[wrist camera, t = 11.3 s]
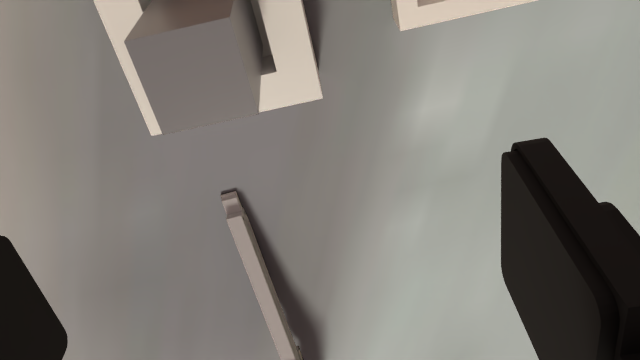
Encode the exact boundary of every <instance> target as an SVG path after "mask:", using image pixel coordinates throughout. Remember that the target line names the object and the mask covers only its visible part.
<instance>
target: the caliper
mask: <svg viewBox="0 0 640 360" xmlns="http://www.w3.org/2000/svg"><path fill="white" fill-rule="evenodd" d="M221 199H222V203H223V206H224V208H225V211H226V214H227V218H226V220H227V223H228V225H229V228H230V230H231V233H232V235H233V238H234V241H235V243H236V246H237V248H238V251H239V253H240V256H241V259H242V261H243V264H244V266H245V269H246V271H247V274H248V277H249V279H250V282H251V284H252V287H253V289H254V292H255V294H256V297H257V300H258V302H259V305H260V307H261V310H262V312H263V315H264V318H265V320H266V323H267V325H268V328H269V330H270V333H271V335H272V338H273V341H274V343H275V346H276V348H277V351H278V353H279V356H280V358H281V360H304V359H303V357H302V355H301V351H300V348H299V346H296V345H295V342H294V340H293V337H292V334H291V332H290V329H289V326H288V324H287V321H286V318H285V316H284V313H283V310H282V308H281V305H280V302H279V300H278V297H277V294H276V292H275V289H274V286H273V283H272V281H271V278H270V275H269V273H268V270H267V267H266V265H265V262H264V259H263V256H262V254H261V251H260V248H259V246H258V243H257V240H256V238H255V235H254V232H253V229H252V227H251V224H250V222H249V220H248V217H247V215H246V213H245V211H244V208H243V207H242V206H241V203H240V200H239V198H238V195H237V193H236V191H234V192H230V193H226V194H223V195H221Z"/></svg>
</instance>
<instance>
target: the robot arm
mask: <svg viewBox="0 0 640 360" xmlns="http://www.w3.org/2000/svg"><path fill="white" fill-rule="evenodd" d="M501 268H502V274H503V278H504V281H505V284H506V286H507V289H508V291H509V293H510V295H511V297H512V300H513V302H514V304H515V306H516V309H517V311H518V313H519V315H520V318H521V320H522V322H523V324H524V327H525V329H526V331H527V333H528V336H529V338H530V340H531V342H532V345H533V347H534V349H535V351H536V354H537V356H538V358H539V360H640V236H639V235H638V233H637V232H636V231H635V230H634V229H633V227H632V226H631V225H630V224H629V222H628V221H627V220H626V219H625V217H624V216H623V215H622V214H621V213H620V211H619V210H618V209H617V208H616V207H615V206H614V205H613V204H611V203H608V202H602V203H598V202H597V200H596V199H595V198H594V197H593V195H592V194H591V193H590V191H589V190H588V189H587V188H586V186H585V185H584V184H583V183H582V181H581V180H580V179H579V177H578V176H577V175H576V174H575V172H574V171H573V170H572V168H571V167H570V166H569V165H568V163H567V162H566V161H565V159H564V158H563V157H562V156H561V154H560V153H559V152H558V150H557V149H556V148H555V147H554V145H553V144H552V143H551V141H550V140H549V139H547V138H540V139H534V140H528V141H522V142H516V143H514V144H513V145H512V148H511V152H505V153H503V154H502V160H501ZM66 348H67V334H66V331H65V329H64V328H63V326H62V324H61V323H60V321H59V319H58V318H57V316H56V315H55V313H54V311H53V310H52V308H51V306H50V305H49V303H48V302H47V300H46V298H45V297H44V295H43V294H42V292H41V290H40V289H39V287H38V285H37V284H36V282H35V281H34V279H33V277H32V276H31V274H30V272H29V271H28V269H27V268H26V266H25V264H24V263H23V261H22V259H21V258H20V256H19V255H18V253H17V251H16V250H15V248H14V247H13V245H12V243H11V242H10V240H9V239H8V238H6V237H5V236H0V360H62V358H63V356H64V354H65V351H66Z"/></svg>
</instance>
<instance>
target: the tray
mask: <svg viewBox="0 0 640 360" xmlns="http://www.w3.org/2000/svg"><path fill="white" fill-rule="evenodd" d="M532 1H537V0H391V5H392V12H393V19H394V21H395V23H396V24H397V26H398V28H399V30H400V31H403V30H407V29H412V28H416V27H421V26H425V25H430V24H434V23H439V22H443V21H448V20H452V19H457V18H461V17H465V16H470V15H474V14H479V13H483V12H488V11H492V10H497V9H501V8H506V7H510V6H515V5H519V4H523V3H528V2H532Z"/></svg>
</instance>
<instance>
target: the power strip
mask: <svg viewBox="0 0 640 360" xmlns="http://www.w3.org/2000/svg"><path fill="white" fill-rule="evenodd" d="M93 1H94V3H95V5H96V7H97V10H98V12H99V14H100V17H101V19H102V21H103V24H104V26H105V28H106V31H107V33H108V35H109V38H110V40H111V42H112V45H113V47H114V49H115V52H116V54H117V56H118V59H119V61H120V63H121V66H122V68H123V70H124V73H125V75H126V77H127V80H128V82H129V84H130V87H131V89H132V91H133V94H134V96H135V98H136V101H137V103H138V105H139V108H140V110H141V112H142V115H143V117H144V119H145V122H146V124H147V126H148V129H149V131H150V133H151V136H153V135H158V134H162V132H161V130H160V127H159V125H158V122H157V120H156V118H155V115H154V113H153V110H152V108H151V106H150V103H149V101H148V98H147V96H146V94H145V91H144V89H143V86H142V84H141V82H140V79H139V77H138V74H137V72H136V70H135V67H134V65H133V62H132V60H131V57H130V55H129V53H128V50H127V48H126V45H125V43H124V40H125V39H126V37H127V36H128V34H129V33H130V31H131V30H132V29H133V27H134V26H135V24H136V23H137V21H138V20H139V18H140V17H141V15H142V14H143V12H144V11H145V9H146V8H147V6H148V5H149V3H150V2H151V0H93ZM251 4H252V8H253V11H254V15H255V18H256V22H257V26H258V29H259V33H260V37H261V40H262V44H263V52H262V69H261V85H260V102H259V112H263V111H267V110H272V109H277V108H281V107H286V106H290V105H295V104H299V103H304V102H309V101H313V100H318V99H322V98H323V96H322V90H321V84H320V78H319V72H318V67H317V63H316V58H315V54H314V49H313V45H312V40H311V36H310V31H309V27H308V22H307V18H306V13H305V9H304V4H303V0H251Z"/></svg>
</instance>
